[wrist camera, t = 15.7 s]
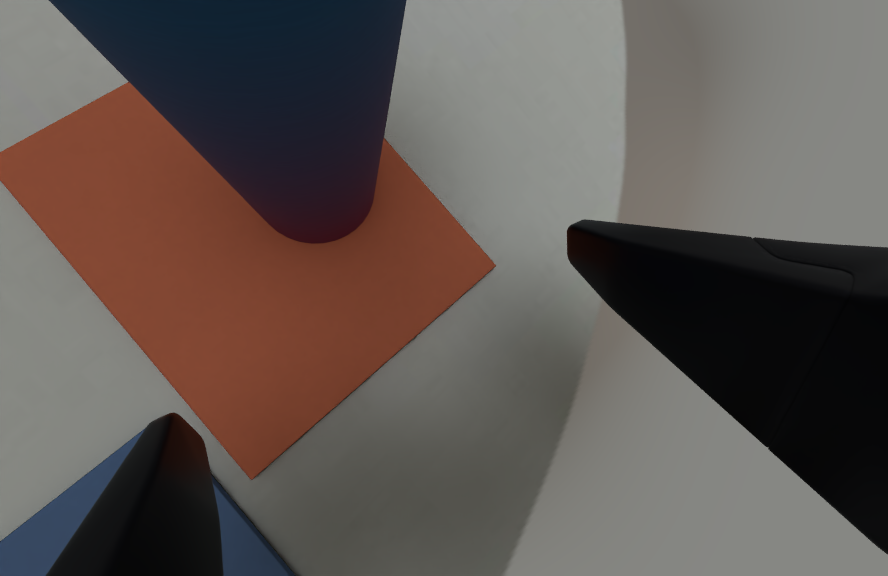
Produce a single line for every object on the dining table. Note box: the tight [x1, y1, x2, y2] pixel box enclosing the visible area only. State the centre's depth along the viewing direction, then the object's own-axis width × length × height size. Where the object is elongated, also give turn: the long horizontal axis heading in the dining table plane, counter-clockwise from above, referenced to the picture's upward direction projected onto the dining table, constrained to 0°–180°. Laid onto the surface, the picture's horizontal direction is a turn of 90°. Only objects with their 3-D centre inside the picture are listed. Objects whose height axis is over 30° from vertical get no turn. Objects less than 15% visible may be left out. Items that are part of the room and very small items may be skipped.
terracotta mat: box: [0, 82, 496, 480], centre depth 17 cm, size 16×13×1 cm
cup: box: [49, 0, 406, 244], centre depth 11 cm, size 7×7×15 cm
